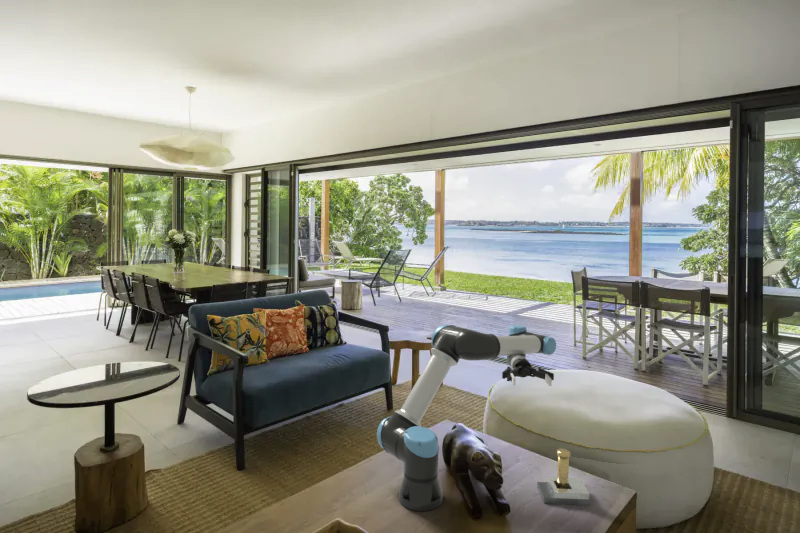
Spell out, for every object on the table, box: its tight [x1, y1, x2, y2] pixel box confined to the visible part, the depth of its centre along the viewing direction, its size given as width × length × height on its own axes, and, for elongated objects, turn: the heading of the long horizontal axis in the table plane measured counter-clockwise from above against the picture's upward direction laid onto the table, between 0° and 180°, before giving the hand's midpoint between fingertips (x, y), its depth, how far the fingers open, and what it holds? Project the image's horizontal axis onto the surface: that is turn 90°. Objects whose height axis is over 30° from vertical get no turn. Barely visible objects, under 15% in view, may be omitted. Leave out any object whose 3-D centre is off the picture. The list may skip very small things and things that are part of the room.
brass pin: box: [556, 448, 571, 489], centre depth 161 cm, size 4×4×16 cm
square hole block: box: [536, 476, 590, 506], centre depth 161 cm, size 15×10×4 cm, turn 87°
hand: (532, 382), depth 176 cm, fingers open, 13 cm apart
